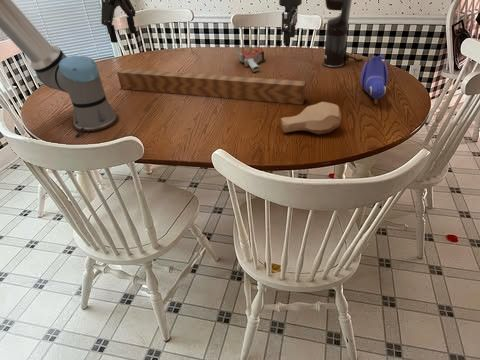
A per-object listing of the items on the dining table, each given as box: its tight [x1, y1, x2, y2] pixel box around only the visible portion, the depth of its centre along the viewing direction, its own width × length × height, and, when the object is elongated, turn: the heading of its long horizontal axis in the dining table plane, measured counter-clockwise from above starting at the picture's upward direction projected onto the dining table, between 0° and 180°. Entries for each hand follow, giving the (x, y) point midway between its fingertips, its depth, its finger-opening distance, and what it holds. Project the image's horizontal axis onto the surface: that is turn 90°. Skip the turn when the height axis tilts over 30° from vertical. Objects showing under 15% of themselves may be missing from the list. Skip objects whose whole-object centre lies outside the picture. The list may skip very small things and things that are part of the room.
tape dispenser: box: [237, 48, 265, 73], centre depth 175 cm, size 18×5×20 cm
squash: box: [280, 101, 342, 135], centre depth 117 cm, size 11×20×9 cm, turn 92°
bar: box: [116, 68, 307, 105], centre depth 148 cm, size 82×5×8 cm, turn 72°
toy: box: [359, 54, 389, 105], centre depth 135 cm, size 10×17×25 cm
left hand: (124, 37), depth 147 cm, fingers open, 13 cm apart
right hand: (289, 40), depth 126 cm, fingers open, 8 cm apart
